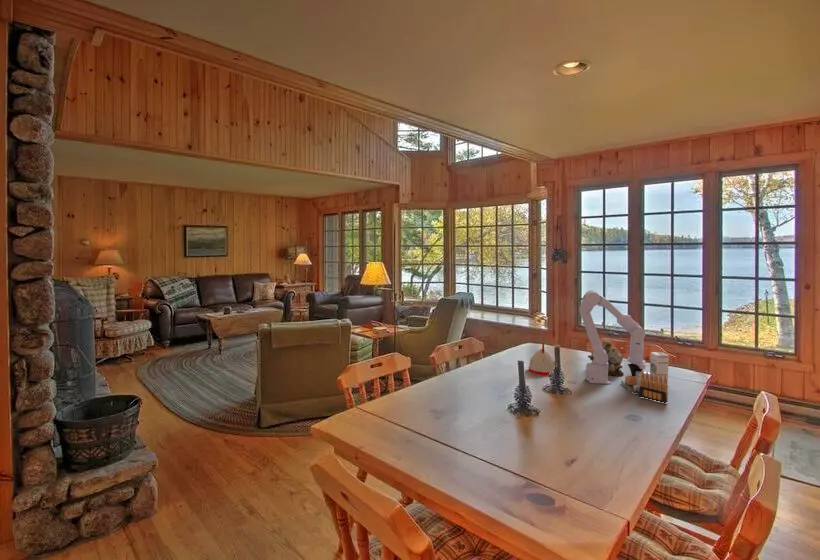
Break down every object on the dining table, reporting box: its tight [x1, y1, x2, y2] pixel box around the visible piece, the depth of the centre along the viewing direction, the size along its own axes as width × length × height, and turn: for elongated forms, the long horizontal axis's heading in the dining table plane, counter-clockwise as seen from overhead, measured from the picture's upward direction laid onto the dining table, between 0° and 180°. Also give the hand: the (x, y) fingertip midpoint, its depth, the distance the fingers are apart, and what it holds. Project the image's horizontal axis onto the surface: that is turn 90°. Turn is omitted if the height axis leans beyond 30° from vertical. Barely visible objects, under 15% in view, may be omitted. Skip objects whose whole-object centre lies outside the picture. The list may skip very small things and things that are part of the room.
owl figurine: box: [587, 339, 625, 377], centre depth 216 cm, size 18×12×17 cm, turn 42°
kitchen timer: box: [528, 342, 556, 376], centre depth 218 cm, size 14×14×15 cm
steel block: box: [635, 370, 650, 385], centre depth 188 cm, size 5×3×7 cm, turn 84°
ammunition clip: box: [638, 370, 668, 403], centre depth 176 cm, size 11×2×12 cm, turn 39°
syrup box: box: [649, 351, 670, 384], centre depth 198 cm, size 6×6×14 cm
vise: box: [620, 380, 640, 395], centre depth 191 cm, size 12×14×4 cm
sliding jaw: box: [624, 375, 636, 385], centre depth 193 cm, size 10×4×3 cm, turn 84°
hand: (635, 379), depth 197 cm, fingers closed
